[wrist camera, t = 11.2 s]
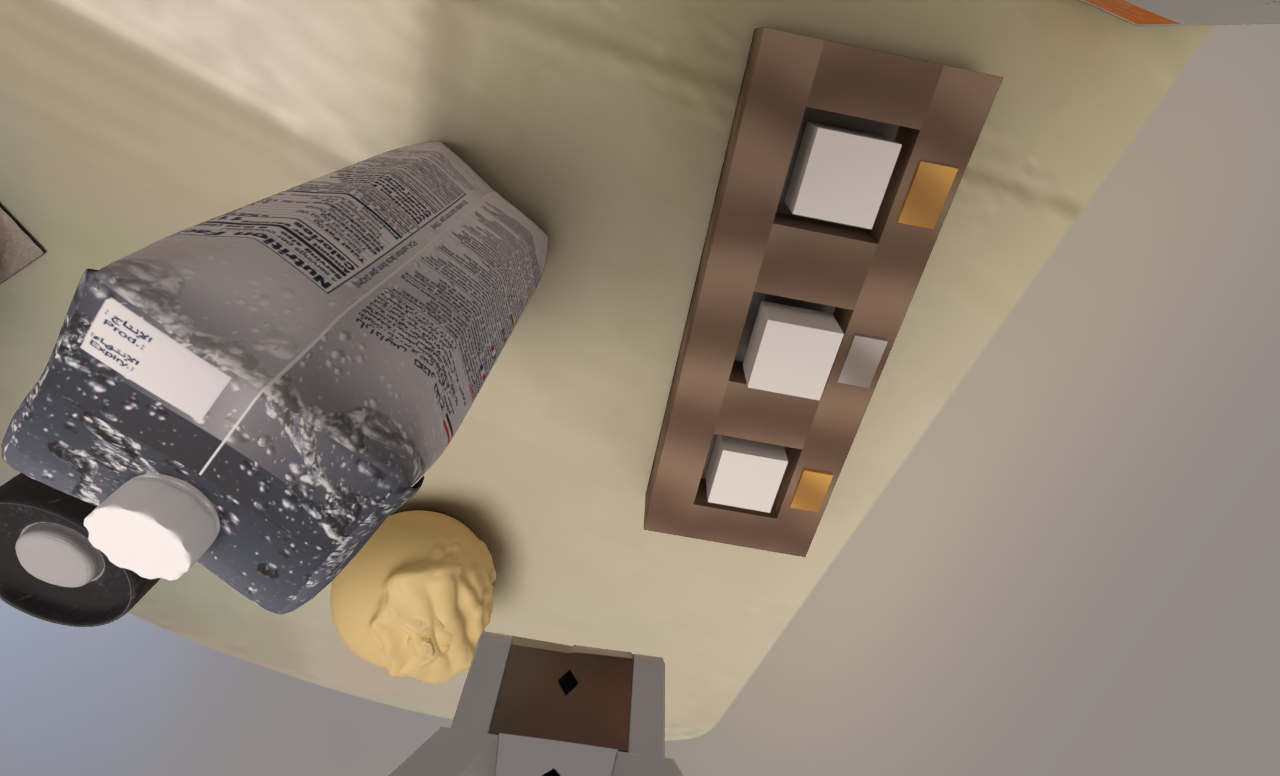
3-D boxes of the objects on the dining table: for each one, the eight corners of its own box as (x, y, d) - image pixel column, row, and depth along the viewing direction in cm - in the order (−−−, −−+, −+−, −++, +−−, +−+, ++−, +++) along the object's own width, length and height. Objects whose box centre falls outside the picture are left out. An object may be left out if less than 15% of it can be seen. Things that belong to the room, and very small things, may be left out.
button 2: (807, 120, 35) (818, 127, 32) (885, 136, 35) (902, 144, 32) (784, 201, 37) (792, 213, 34) (857, 216, 37) (871, 229, 34)
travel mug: (359, 353, 45) (155, 556, 27) (319, 428, 48) (114, 652, 30) (253, 292, 43) (-39, 468, 25) (219, 374, 46) (-61, 580, 28)
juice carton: (433, 113, 37) (1, 244, 13) (572, 237, 40) (426, 522, 16) (355, 225, 40) (-100, 490, 16) (489, 331, 43) (267, 681, 20)
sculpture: (519, 594, 55) (487, 708, 46) (385, 596, 56) (327, 708, 47) (495, 488, 50) (454, 593, 40) (348, 492, 51) (273, 596, 41)
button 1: (719, 425, 44) (723, 449, 42) (781, 436, 44) (788, 461, 42) (705, 475, 46) (707, 502, 44) (764, 486, 47) (769, 512, 44)
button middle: (761, 300, 38) (768, 319, 36) (832, 313, 38) (843, 334, 36) (742, 364, 40) (747, 387, 38) (810, 377, 40) (819, 400, 38)
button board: (754, 28, 34) (764, 27, 30) (969, 73, 35) (1006, 77, 31) (645, 494, 49) (643, 532, 46) (795, 520, 50) (806, 560, 46)
